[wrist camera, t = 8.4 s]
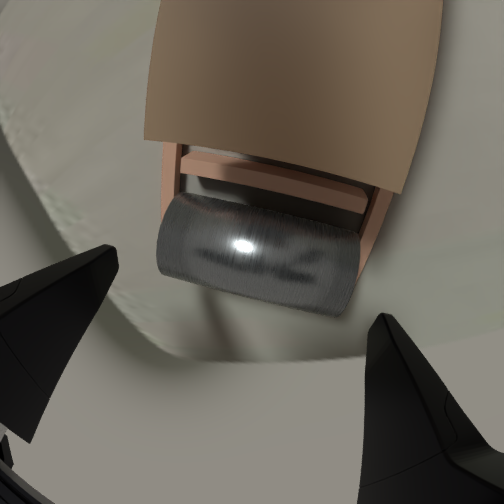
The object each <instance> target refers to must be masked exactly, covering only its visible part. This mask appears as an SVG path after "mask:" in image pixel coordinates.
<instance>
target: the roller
mask: <svg viewBox="0 0 504 504" xmlns="http://www.w3.org/2000/svg"><path fill="white" fill-rule="evenodd" d="M360 252H361V248H360V239H359V235H358V233H357V232H355V231H351V230H347V229H343V228H340V227H336V226H332V225H328V224H324V223H320V222H316V221H313V220H309V219H305V218H300V217H296V216H292V215H288V214H284V213H280V212H276V211H271V210H267V209H263V208H258V207H254V206H249V205H245V204H240V203H236V202H231V201H226V200H222V199H217V198H212V197H207V196H202V195H197V194H192V193H187V192H180V193H178V194H177V195H176V196H175V197H174V198H173V199H172V201H171V202H170V204H169V206H168V208H167V210H166V212H165V214H164V217H163V219H162V222H161V226H160V230H159V234H158V240H157V251H156V256H157V265H158V268H159V271H160V272H161V274H163V275H165V276H169V277H172V278H176V279H180V280H183V281H187V282H190V283H194V284H198V285H201V286H205V287H209V288H212V289H216V290H220V291H224V292H228V293H232V294H236V295H239V296H243V297H247V298H251V299H256V300H260V301H264V302H268V303H272V304H276V305H281V306H285V307H289V308H294V309H298V310H302V311H307V312H311V313H316V314H321V315H325V316H330V317H338V316H339V315H340V314H341V313H342V312H343V311H344V309H345V308H346V306H347V304H348V302H349V300H350V297H351V295H352V292H353V289H354V286H355V283H356V279H357V275H358V270H359V263H360Z"/></svg>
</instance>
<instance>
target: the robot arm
mask: <svg viewBox="0 0 504 504" xmlns="http://www.w3.org/2000/svg"><path fill="white" fill-rule="evenodd" d="M118 269H119V264H118V257H117V250H116V248H115V247H114V246H111V245H107V244H104V245H101V246H99V247H96V248H93V249H91V250H88V251H86V252H83V253H80V254H78V255H75V256H73V257H70V258H68V259H66V260H63V261H60V262H58V263H55V264H53V265H51V266H48V267H46V268H44V269H41V270H39V271H36V272H34V273H32V274H29V275H27V276H25V277H23V278H20V279H18V280H16V281H13V282H11V283H9V284H6V285H4V286H2V287H0V504H55V503H53V502H52V501H50V500H49V499H47V498H46V497H45V496H43V495H42V494H41V493H39V492H38V491H37V490H35V489H34V488H32V486H30V485H29V484H28V483H27V482H25V481H24V480H23V479H22V478H20V477H19V476H18V475H17V474H16V473H15V472H14V471H12V470H11V469H12V466H13V465H14V463H13V460H12V456H11V451H10V447H9V442H8V438H7V435H5V432H6V430H7V429H9V430H11V431H12V432H13V433H15V434H16V435H17V436H19V437H20V438H22V439H23V440H25V441H26V442H28V443H29V444H30V443H31V441H32V438H33V436H34V434H35V431H36V429H37V426H38V424H39V422H40V419H41V417H42V415H43V413H44V410H45V408H46V406H47V404H48V402H49V400H50V399H49V398H50V397H51V395H52V393H53V391H54V389H55V387H56V385H57V383H58V381H59V379H60V377H61V375H62V373H63V371H64V369H65V367H66V365H67V363H68V361H69V360H70V358H71V356H72V354H73V352H74V350H75V349H76V347H77V345H78V343H79V342H80V340H81V338H82V336H83V335H84V333H85V331H86V329H87V327H88V326H89V324H90V323H91V321H92V319H93V318H94V316H95V314H96V313H97V311H98V309H99V308H100V306H101V304H102V302H103V300H104V298H105V296H106V294H107V292H108V290H109V288H110V286H111V284H112V282H113V280H114V278H115V276H116V274H117V272H118ZM359 487H360V488H359V493H358V500H357V504H504V453H501V452H498V451H497V450H495V449H493V448H492V447H491V446H490V445H489V444H488V443H487V442H486V441H485V439H484V438H483V437H482V435H481V434H480V433H479V431H478V430H477V429H476V427H475V426H474V425H473V423H472V422H471V421H470V419H469V418H468V417H467V415H466V414H465V413H464V412H463V410H462V409H461V407H460V406H459V404H458V403H457V402H456V400H455V399H454V397H453V396H452V394H451V393H450V391H448V389H447V387H446V386H445V385H444V383H443V382H442V380H441V379H440V377H439V376H438V374H437V373H436V372H435V371H434V369H433V368H432V366H431V365H430V364H429V362H428V361H427V359H426V358H425V357H424V355H423V354H422V353H421V351H420V350H419V349H418V347H417V346H416V345H415V343H414V342H413V341H412V339H411V338H410V337H409V336H408V334H407V333H406V332H405V330H404V329H403V328H402V327H401V325H400V324H399V323H398V322H397V320H396V319H395V318H394V317H393V316H392V315H391V314H387V313H380V314H379V315H378V316H377V318H376V320H375V321H374V323H373V324H372V326H371V328H370V329H369V332H368V339H367V354H366V366H365V416H364V439H363V455H362V466H361V476H360V485H359Z"/></svg>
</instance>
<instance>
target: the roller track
mask: <svg viewBox="0 0 504 504" xmlns="http://www.w3.org/2000/svg"><path fill="white" fill-rule="evenodd" d="M181 157H182V144H179V143H170V142H163V158H162V186H161V222H162V219H163V217H164V214H165V212H166V210H167V208H168V206H169V204H170V202H171V201H172V199H173V198H174V197H175V196H176V195H177V194H178V193H179V189H180V173H185V174H191V175H196V176H202V177H207V178H213V179H218V180H223V181H228V182H233V183H238V184H243V185H247V186H252V187H257V188H261V189H266V190H270V191H275V192H279V193H283V194H287V195H292V196H296V197H300V198H304V199H308V200H312V201H316V202H320V203H324V204H327V205H331V206H335V207H339V208H342V209H346V210H349V211H353V212H356V213H360V214H363V213H364V210H365V208H366V205H367V202H368V198H367V196H366V194H365V192H364V190H363V189H362V188H358V187H355V186H351V185H348V184H345V183H341V182H337V181H334V180H330V179H326V178H323V177H319V176H315V175H311V174H307V173H303V172H299V171H295V170H290V169H286V168H282V167H277V166H273V165H268V164H264V163H259V162H254V161H249V160H244V159H238V158H233V157H228V156H222V155H216V154H210V153H204V152H197V151H192V152H190V153H189V154H187V155H185V156H183V157H182V158H181ZM393 194H394V192H392V191H389V190H386V189H383V188H379V187H375V190H374V193H373V196H372V199H371V202H370V205H369V208H368V210H367V213H366V216H365V219H364V221H363V224H362V227H361V229H360V232H359V234H358V235H359V239H360V248H361V252H360V263H359V270H358V275H357V279H356V282H357V280H358V278H359V276H360V274H361V272H362V269H363V267H364V265H365V263H366V261H367V258H368V256H369V254H370V252H371V249H372V247H373V245H374V242H375V240H376V237H377V235H378V233H379V230H380V228H381V225H382V223H383V220H384V218H385V215H386V213H387V210H388V207H389V205H390V202H391V199H392V197H393ZM355 284H356V283H355Z"/></svg>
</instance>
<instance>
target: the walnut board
mask: <svg viewBox="0 0 504 504" xmlns="http://www.w3.org/2000/svg"><path fill="white" fill-rule="evenodd" d="M442 8H443V0H161V3H160V8H159V12H158V18H157V23H156V28H155V34H154V40H153V47H152V53H151V61H150V68H149V77H148V86H147V97H146V110H145V125H144V140H152V141H161V142H170V143H179V144H186V145H194V146H201V147H208V148H214V149H220V150H226V151H232V152H238V153H243V154H249V155H254V156H259V157H264V158H269V159H274V160H278V161H283V162H287V163H292V164H296V165H300V166H304V167H308V168H312V169H316V170H320V171H324V172H328V173H332V174H335V175H339V176H343V177H346V178H350V179H353V180H357V181H360V182H363V183H367V184H370V185H373V186H376V187H379V188H383V189H386V190H389V191H392V192H395V193H398V194H401V192H402V189H403V186H404V184H405V181H406V178H407V175H408V172H409V169H410V166H411V162H412V159H413V156H414V153H415V150H416V146H417V143H418V139H419V136H420V132H421V129H422V125H423V121H424V117H425V113H426V109H427V105H428V100H429V96H430V91H431V87H432V82H433V77H434V71H435V66H436V60H437V53H438V46H439V39H440V30H441V20H442Z"/></svg>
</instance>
